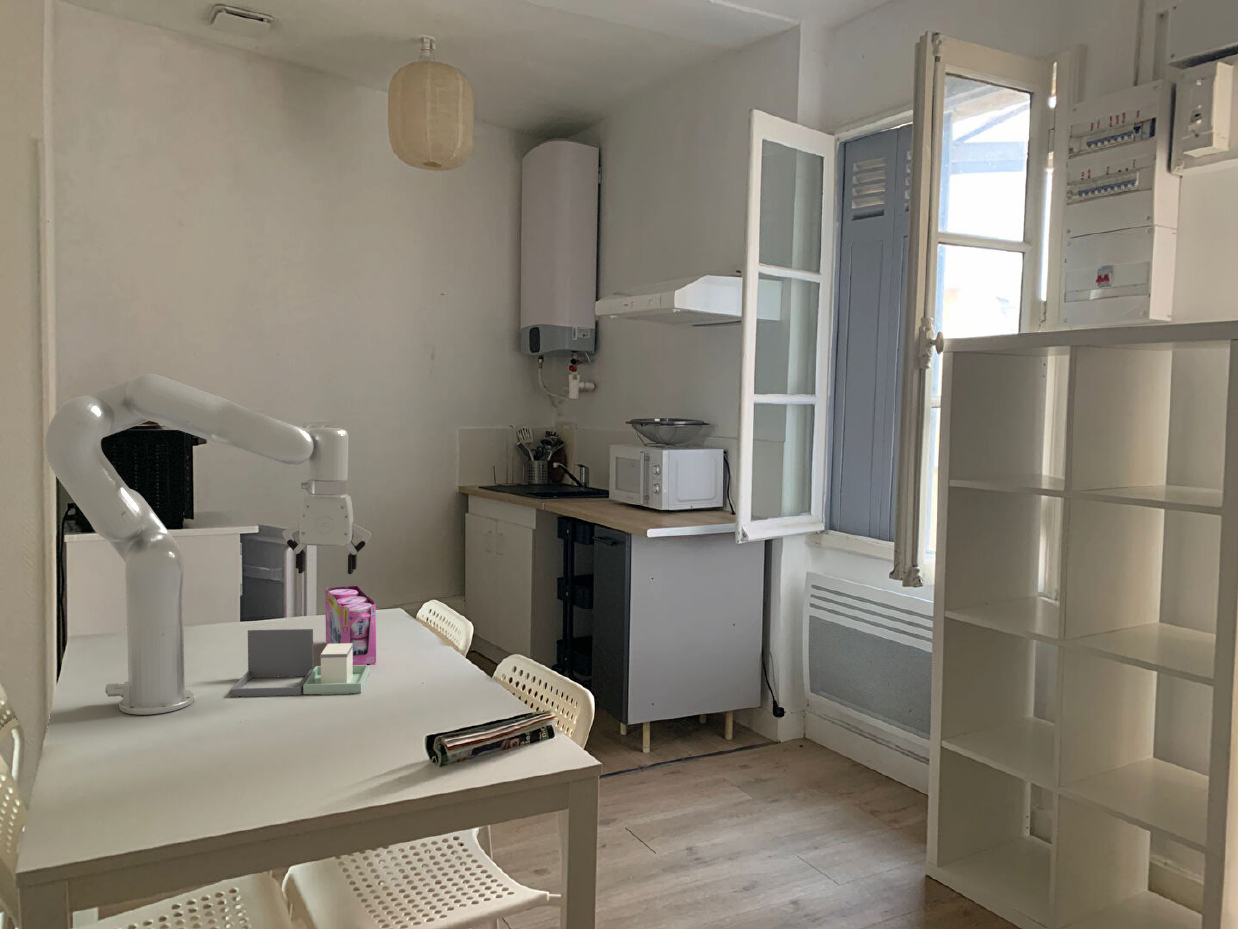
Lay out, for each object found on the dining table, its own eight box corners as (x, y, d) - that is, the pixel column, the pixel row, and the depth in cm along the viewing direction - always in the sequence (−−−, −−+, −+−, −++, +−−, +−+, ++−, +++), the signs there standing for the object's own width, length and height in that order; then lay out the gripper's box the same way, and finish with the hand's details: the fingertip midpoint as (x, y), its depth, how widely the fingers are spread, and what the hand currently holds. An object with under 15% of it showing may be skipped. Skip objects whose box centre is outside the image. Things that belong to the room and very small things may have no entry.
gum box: (378, 666, 202) (378, 605, 201) (341, 670, 199) (341, 608, 198) (358, 640, 224) (358, 584, 223) (324, 643, 220) (324, 587, 219)
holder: (231, 697, 180) (230, 646, 179) (248, 677, 193) (248, 630, 192) (300, 695, 181) (300, 645, 181) (313, 675, 194) (313, 628, 194)
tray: (303, 695, 182) (303, 685, 181) (315, 675, 194) (315, 666, 194) (360, 693, 183) (360, 683, 183) (369, 674, 196) (369, 665, 196)
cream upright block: (320, 688, 184) (320, 654, 184) (327, 676, 192) (327, 643, 192) (347, 688, 185) (347, 653, 185) (353, 676, 193) (353, 643, 193)
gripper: (279, 489, 181) (277, 575, 182) (369, 491, 184) (367, 576, 185) (287, 486, 189) (286, 568, 190) (374, 488, 191) (372, 570, 192)
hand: (326, 572), depth 187 cm, fingers open, 9 cm apart
